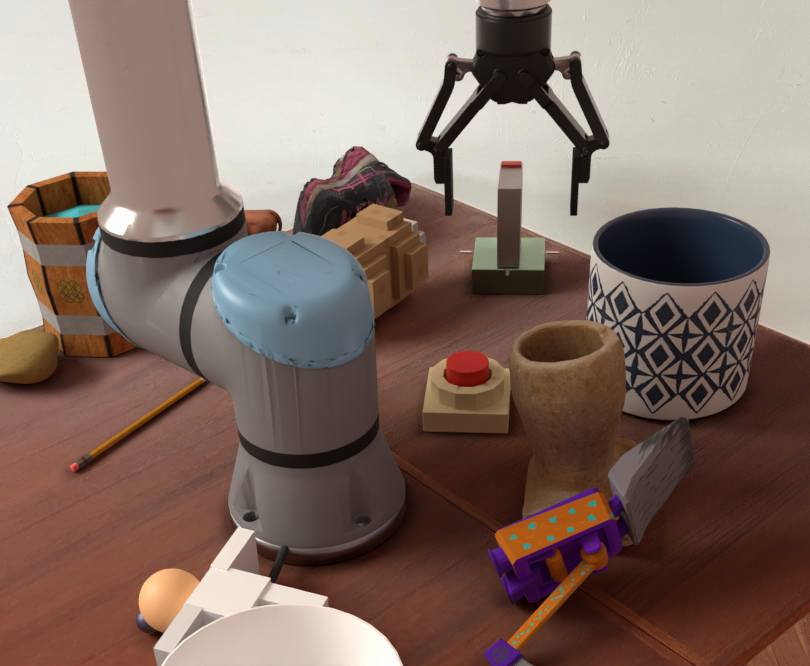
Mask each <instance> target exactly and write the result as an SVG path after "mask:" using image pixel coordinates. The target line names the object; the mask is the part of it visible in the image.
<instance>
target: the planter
mask: <svg viewBox="0 0 810 666" xmlns="http://www.w3.org/2000/svg"><path fill="white" fill-rule="evenodd" d="M770 258H771V247H770V244H769V241H768V239H767V238H766V237H765V235H764V234H763V233H762V232H761V231H759V230H758V229H757V228H756V227H755V226H753V225H751V224H750V223H748V222H745V221H744V220H742V219H739V218H737V217H735V216H731V215H728V214H725V213H722V212H717V211H715V210H714V211H713V210H707V209H704V208H703V209H702V208H693V207H679V206H678V207H676V206H674V207H673V206H671V207H655V208H653V207H652V208H646V209H640V210H639V209H638V210H635V211H631V212H628V213H627V212H626V213H625V214H622V215H619V216H616V217H614V218H612V219H610V220H608V221H606V222H605V223H604V224H602V225H601V226H600V227H599V228H598V230H596V232H595V234H594V236H593V237H592V242H591V249H590V260H589V261H590V263H589V274H588V275H589V276H588V288H587V289H588V292H587V303H586V304H587V305H586V319H585V320H587V321H594V322H598V323H601V324H604V325H606V326H608V327H610V328H611V329H612V330H613V331H614V332H615V333H616V334H617V336H618V337H619V339H620V341H621V344H622V346H623V349H624V354H625V365H626V397H625V403H624V407H623V411H622V413H625V414H629V415H632V416H636V417H639V418H644V419H649V420H650V419H651V420H657V421H675V420H676V419H678V418H679V417H684V418H687V419H689V420H695V419H700V418H704V417H708V416H712V415H714V414H717V413H720V412H722V411H723V410H724V411H725V410H726V409H728V408H730V406H732V405H734V404H736V402H737V401H738V400H740V399H741V397H742V396H743V394H744V393H745V391H746V390H747V385H748V381H749V375H750V370H751V365H752V360H753V355H754V349H755V343H756V339H757V338H756V337H757V332H758V327H759V321H760V315H761V311H762V310H761V309H762V304H763V299H764V293H765V288H766V282H767V276H768V272H769V271H768V270H769V264H770Z"/></svg>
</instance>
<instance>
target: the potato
mask: <svg viewBox="0 0 810 666" xmlns="http://www.w3.org/2000/svg"><path fill="white" fill-rule="evenodd" d="M58 348H59V340H58V338H57V336H56V335H55V334H53V333H50V332H45V331H44V330H38V329H33V328H32V329H31V328H30V329H24V330H21V331H18V332H15V333H13V334H12V335H9V336H7V337H2V338H0V382H3V383H12V384H21V385H25V384H26V385H29V384H37V383H40V382H43V381H45V380H46V379H48V378H50V377H51V376H52V375H53V374H54V373H55V372H56V369H57V367H58V363H59V361H58V360H59V359H58V357H59V355H58V353H59V350H58Z"/></svg>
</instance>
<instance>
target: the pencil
mask: <svg viewBox="0 0 810 666" xmlns="http://www.w3.org/2000/svg"><path fill="white" fill-rule="evenodd" d="M205 381H206V380H205V379H203V378H201V377H199V378H198V379H196V380H195V381H193V382H191V383H190V384H189V385H187V386H185V388H183V389H182V390H180V391H178V392H177V393H175V394H174V395H173V396H171V397H169V398H168V399H167V400H165V401H163V402H162V403H161V404H159V405H158V406H156V407H155V408H154V409H152V410H150V411H149V412H147V413H146V414H144V415H143V416H141V417H140V418H139V419H137V420H136V421H134V422H133V423H131V424H130V425H128V426H126V428H124V429H122V430H121V431H119V432H118V433H117V434H115V435H114V436H112V437H110V439H108V440H106V441H105V442H104V443H102V444H100V445H99V446H98V447H96V448H95V449H93V450H92V451H90V452H88V453H87V454H84V455H83V456H82V457H81V458H79V459H78V460H76V461H75V462H73V463H72V464H71V465H70V466H69V469H70V470H71V472H75V471H77V470H79V469H81V468H82V467H84V466H86V465H87V464H88V463H90V462H91V461H93V459H94V458H96V457H97V456H99V455H101V453H103V452H105V451H106V450H107V449H109V448H110V447H112V446H113V445H115V444H116V443H118V442H119V441H121V440H122V439H123V438H125V437H126V436H128V435H129V434H131V433H132V432H134V431H136V430H137V429H138V428H140V427H141V426H143V425H145V423H147V422H148V421H150V420H151V419H153V418H154V417H156V416H157V415H159V414H160V413H161V412H163V411H164V410H166V409H167V408H169V407H170V406H172V405H173V404H175V403H176V402H178V401H179V400H180V399H182V398H183V397H185V396H186V395H188V394H189V393H191V392H192V391H194V390H195V389H196V388H198V387H200V386H201V385H202V384H203V383H204V382H205Z"/></svg>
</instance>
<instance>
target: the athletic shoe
mask: <svg viewBox="0 0 810 666" xmlns="http://www.w3.org/2000/svg"><path fill="white" fill-rule="evenodd" d="M302 188H303V189H302V190H300V192H299V196H298V198H297V199H298V200H297V205H296V208H295V214H294V220H293V225H292V235H295V234H297V233H298V232H304V233H309V234H313V235H317V236H320V237H321V236H322V235H324V234H325V233H327V232H329V231H330V230H332V229H338V228H339V227H341V226H342V225H344V224H345V223H347V222H349V221H350V220H352V219H353V218H355V217H356V214H357V213H359V212H360V211H362V210H364V209H365V208H367V207H368V206H370V205H372V204H376V205H380V206H384V207H388V208H392V209H396V210H397V209H398V208H401V207H404V206H406V205H407V204H408V202H410V197H411V192H412V182H411V181H410V180H409V179H408V177H405V176H402V175H400V174H399V173H398V172H397V171H396V170H394V169H392V168H390V167H389V165H388V164H386V163H385V162H383V161H380V159H378V158H377V157H376V156H375V155H374V154H373V153H372V152H370V151H369V150H368V149H366V148H365V147H364V146H360V145H353V146H352V147H350V148H349V149H347V150H346V151H345V153H344V154H343V155H342V156H341V157H339V158H337V159H336V162H335V163H334V165H333V168H332V175H330V177H328V178H326V179H321V178H317V177H311V178H310V179H309V181H306V182H305V183H304V184H303V187H302Z"/></svg>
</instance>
